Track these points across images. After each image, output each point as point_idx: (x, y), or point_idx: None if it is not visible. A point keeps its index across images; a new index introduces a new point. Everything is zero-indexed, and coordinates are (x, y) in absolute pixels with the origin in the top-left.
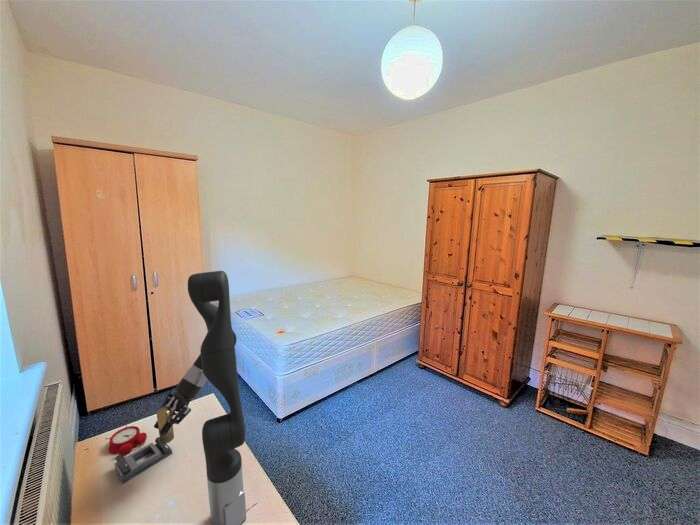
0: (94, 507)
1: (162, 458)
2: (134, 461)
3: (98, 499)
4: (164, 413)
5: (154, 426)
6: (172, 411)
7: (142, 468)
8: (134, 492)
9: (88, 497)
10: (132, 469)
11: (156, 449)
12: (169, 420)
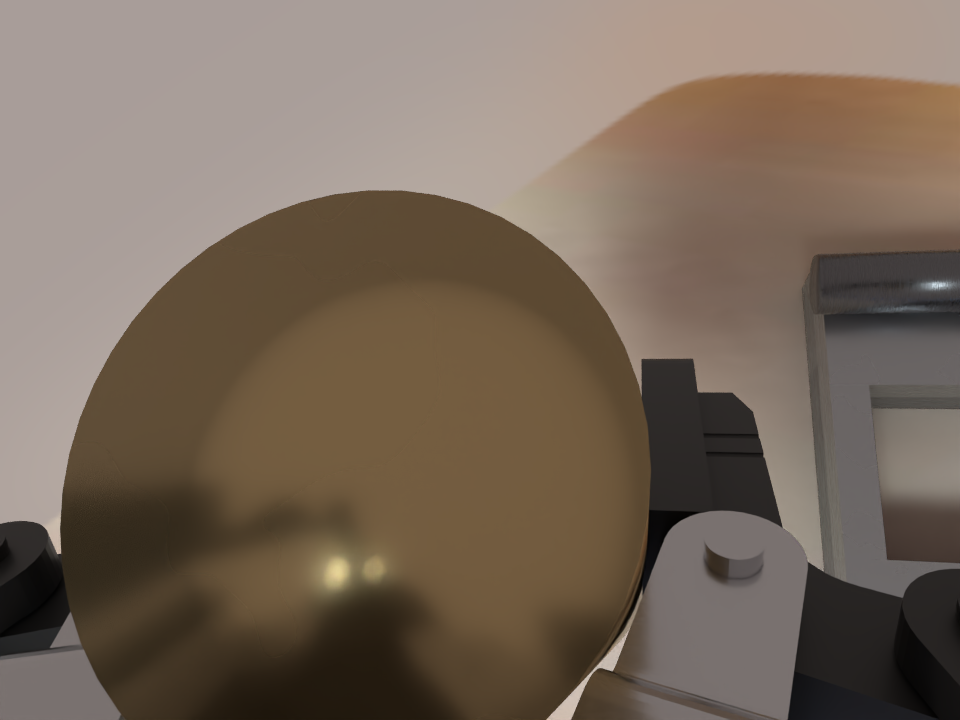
0: (729, 126)
1: None
2: (939, 377)
3: (786, 151)
4: (98, 392)
5: (656, 360)
6: (3, 713)
7: (821, 424)
8: (632, 324)
9: (868, 109)
10: (831, 336)
11: None
12: None
